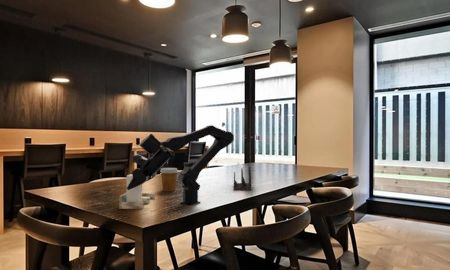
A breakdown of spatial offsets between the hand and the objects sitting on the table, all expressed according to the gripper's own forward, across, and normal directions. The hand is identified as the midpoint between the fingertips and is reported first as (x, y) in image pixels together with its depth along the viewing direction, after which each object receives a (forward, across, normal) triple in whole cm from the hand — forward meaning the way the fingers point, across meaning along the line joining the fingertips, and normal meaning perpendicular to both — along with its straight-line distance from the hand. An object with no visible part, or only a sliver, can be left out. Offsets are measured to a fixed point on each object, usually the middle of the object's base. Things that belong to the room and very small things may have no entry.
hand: (131, 187), depth 123 cm
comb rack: (+4, -6, +6) cm, 10 cm away
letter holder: (-29, -48, +41) cm, 70 cm away
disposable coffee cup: (-1, -38, +12) cm, 40 cm away
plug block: (+4, 0, +6) cm, 8 cm away
